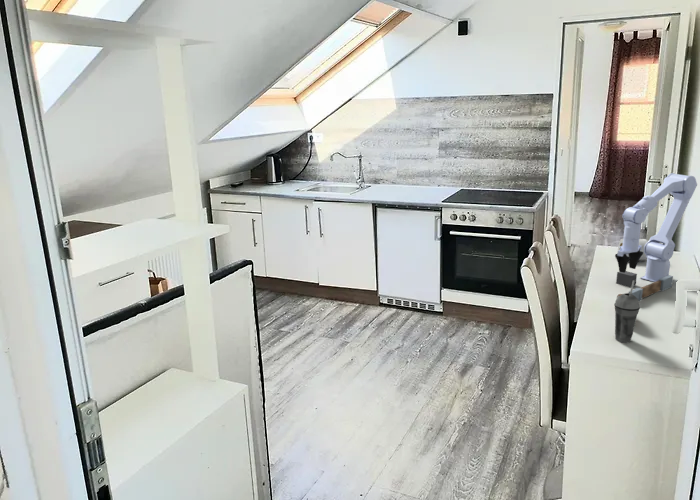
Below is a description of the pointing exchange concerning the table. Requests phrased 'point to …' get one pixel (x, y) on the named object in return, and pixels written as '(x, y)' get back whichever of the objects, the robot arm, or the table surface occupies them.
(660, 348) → the table surface
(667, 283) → the wall frame
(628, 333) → the beverage cup
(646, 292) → the door
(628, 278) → the grey rectangular prism
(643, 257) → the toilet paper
